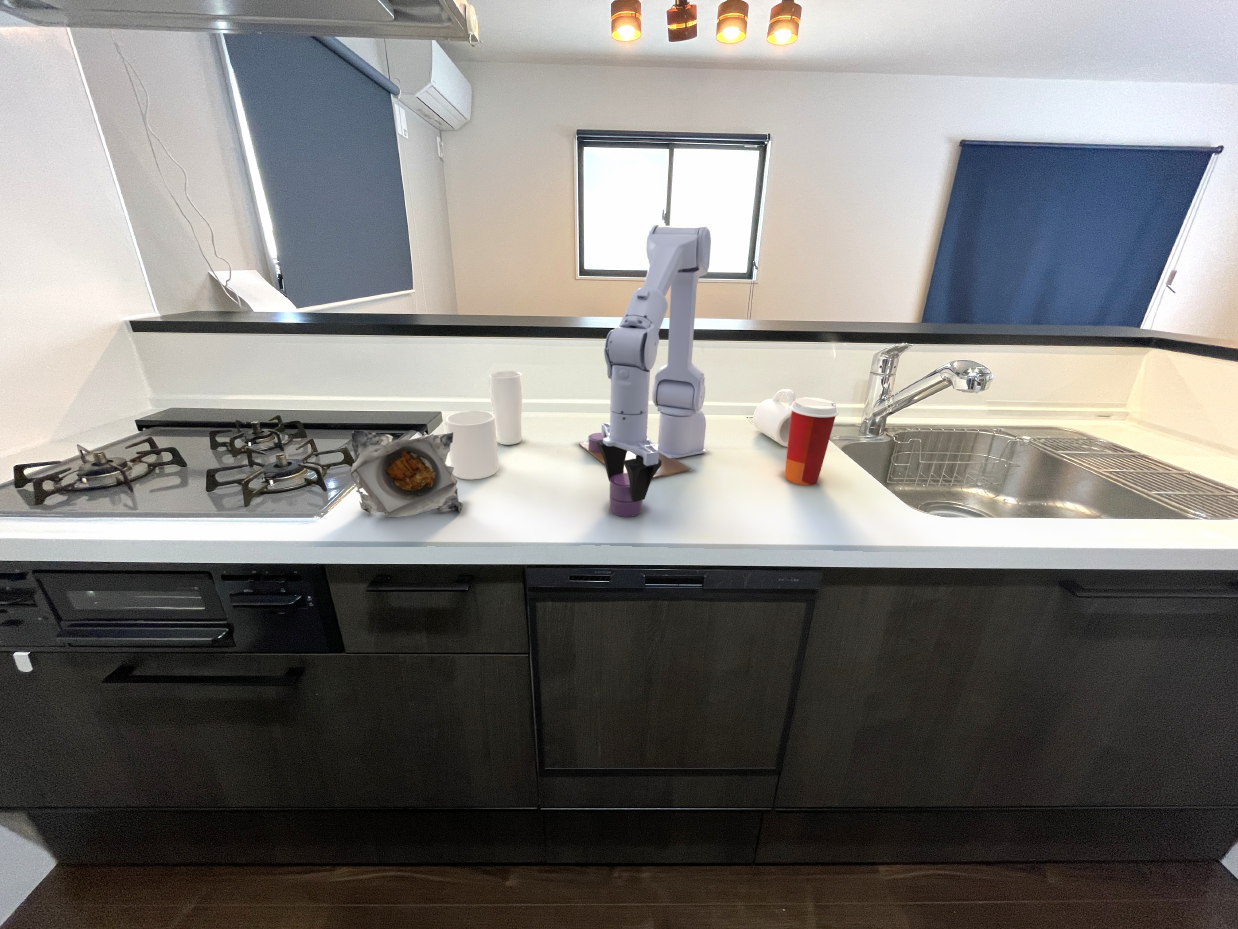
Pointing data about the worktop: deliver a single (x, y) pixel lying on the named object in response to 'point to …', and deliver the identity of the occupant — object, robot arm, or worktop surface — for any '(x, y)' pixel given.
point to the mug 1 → (473, 444)
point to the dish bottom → (625, 507)
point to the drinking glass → (507, 405)
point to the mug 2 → (775, 417)
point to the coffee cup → (808, 438)
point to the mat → (667, 464)
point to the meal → (404, 474)
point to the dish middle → (620, 487)
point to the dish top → (594, 442)
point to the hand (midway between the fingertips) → (626, 490)
